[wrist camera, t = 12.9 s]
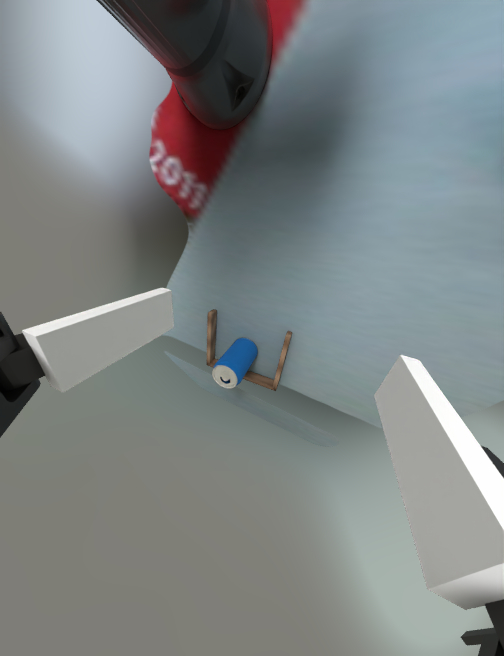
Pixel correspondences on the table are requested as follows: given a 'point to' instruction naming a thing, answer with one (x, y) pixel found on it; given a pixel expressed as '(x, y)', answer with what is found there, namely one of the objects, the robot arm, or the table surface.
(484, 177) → the table surface
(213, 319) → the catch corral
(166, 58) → the robot arm
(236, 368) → the beverage can
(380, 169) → the table surface
